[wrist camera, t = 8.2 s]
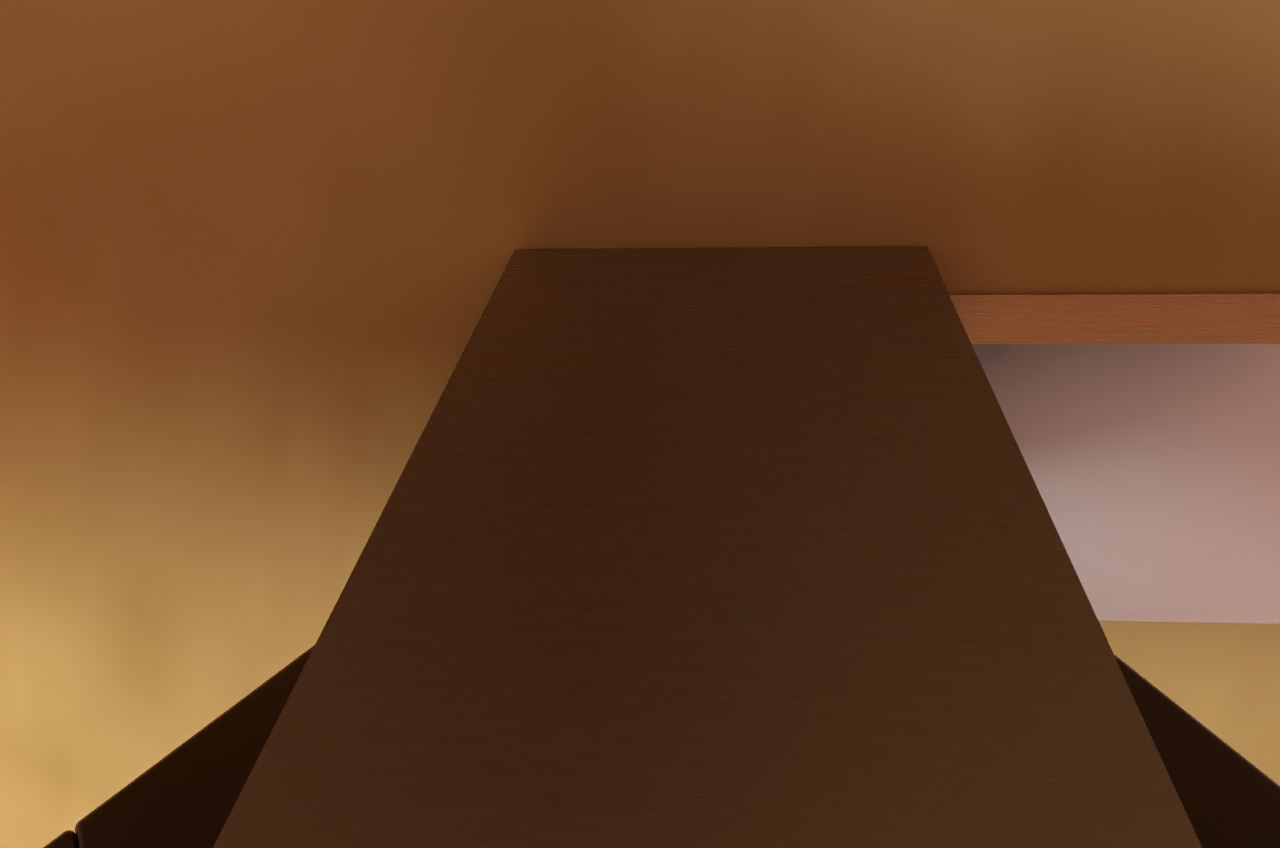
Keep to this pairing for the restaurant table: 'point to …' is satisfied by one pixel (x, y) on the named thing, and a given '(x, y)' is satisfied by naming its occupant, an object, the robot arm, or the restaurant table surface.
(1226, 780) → the robot arm
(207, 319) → the restaurant table surface
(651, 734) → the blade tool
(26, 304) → the restaurant table surface
